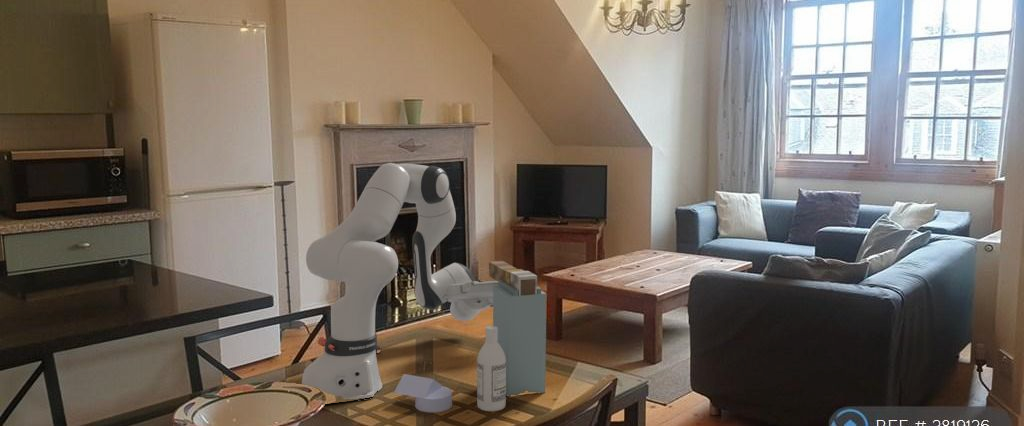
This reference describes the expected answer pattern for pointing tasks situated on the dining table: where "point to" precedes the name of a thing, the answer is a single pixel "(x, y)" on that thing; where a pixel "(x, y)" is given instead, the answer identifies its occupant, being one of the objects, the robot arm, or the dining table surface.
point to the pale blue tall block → (521, 337)
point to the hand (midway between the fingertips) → (487, 282)
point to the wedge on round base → (425, 393)
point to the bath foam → (491, 373)
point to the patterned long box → (514, 277)
